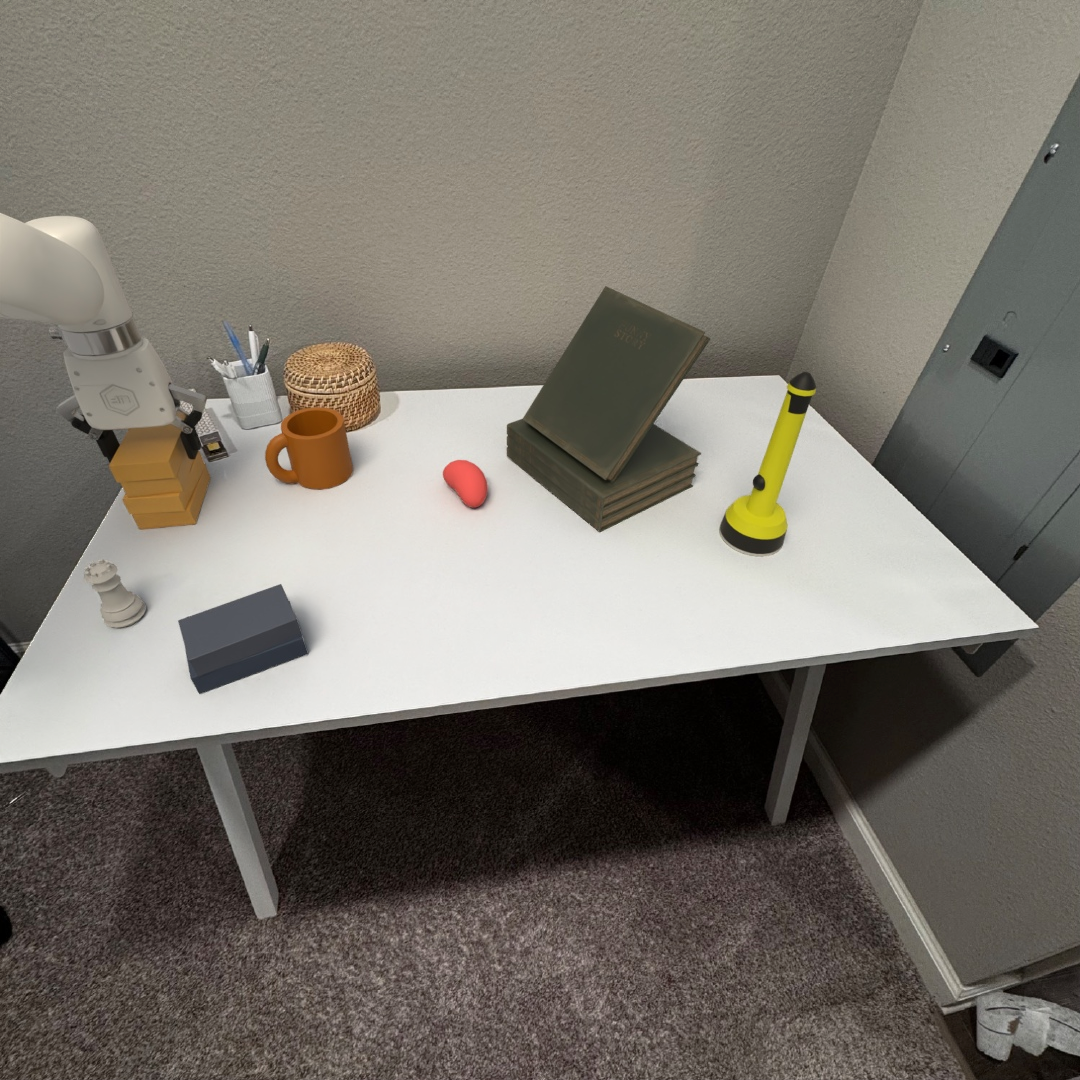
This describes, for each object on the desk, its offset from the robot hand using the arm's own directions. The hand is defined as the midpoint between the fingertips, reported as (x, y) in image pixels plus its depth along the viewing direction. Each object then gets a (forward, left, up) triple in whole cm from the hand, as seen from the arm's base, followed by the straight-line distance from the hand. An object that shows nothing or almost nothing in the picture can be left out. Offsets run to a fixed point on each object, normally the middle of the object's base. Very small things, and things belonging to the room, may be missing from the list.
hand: (156, 456), depth 85 cm
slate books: (+4, -33, -8) cm, 34 cm away
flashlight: (+70, -44, -8) cm, 83 cm away
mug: (+19, -2, -8) cm, 21 cm away
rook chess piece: (-8, -20, -8) cm, 23 cm away
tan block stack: (0, 0, -8) cm, 8 cm away
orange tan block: (0, 0, 0) cm, 0 cm away
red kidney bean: (+38, -17, -8) cm, 42 cm away
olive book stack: (+59, -21, -8) cm, 63 cm away
